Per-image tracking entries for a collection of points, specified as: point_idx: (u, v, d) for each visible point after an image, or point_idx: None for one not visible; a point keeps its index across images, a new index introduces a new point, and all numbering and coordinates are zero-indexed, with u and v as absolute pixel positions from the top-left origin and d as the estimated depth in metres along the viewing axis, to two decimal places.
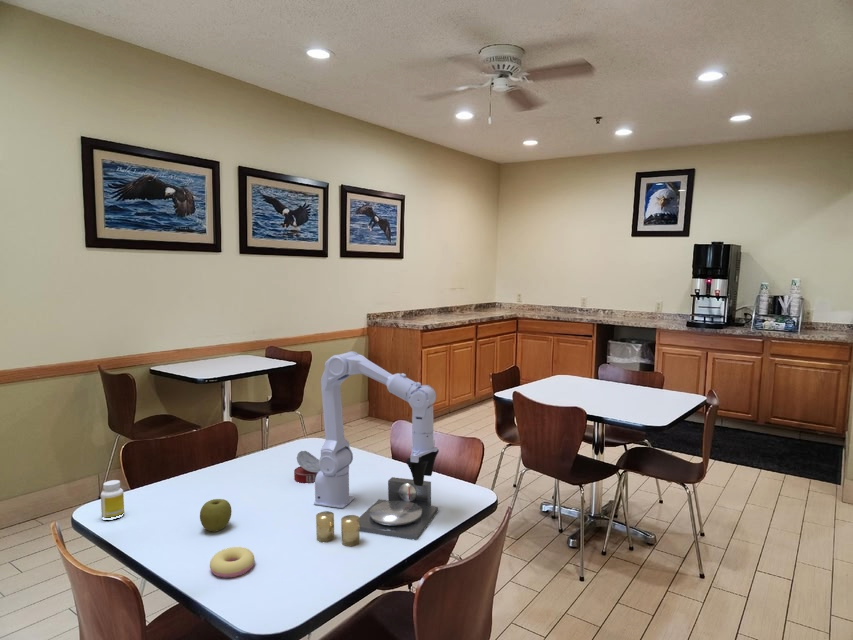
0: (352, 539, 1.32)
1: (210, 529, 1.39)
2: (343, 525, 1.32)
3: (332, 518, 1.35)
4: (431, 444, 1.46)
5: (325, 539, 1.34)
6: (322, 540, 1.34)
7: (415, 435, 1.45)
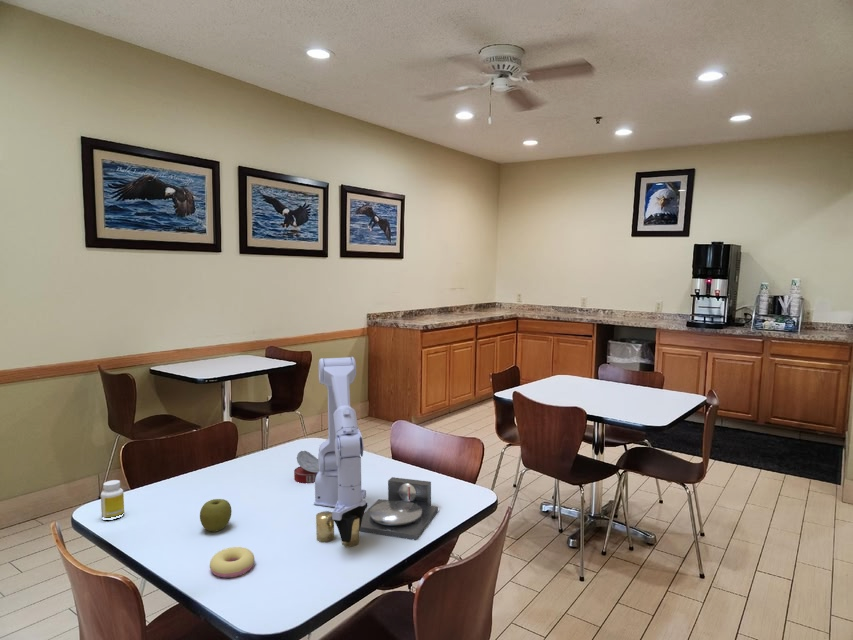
0: (352, 539, 1.32)
1: (210, 529, 1.39)
2: None
3: None
4: (358, 498, 1.32)
5: (325, 539, 1.34)
6: (322, 540, 1.34)
7: (340, 488, 1.31)
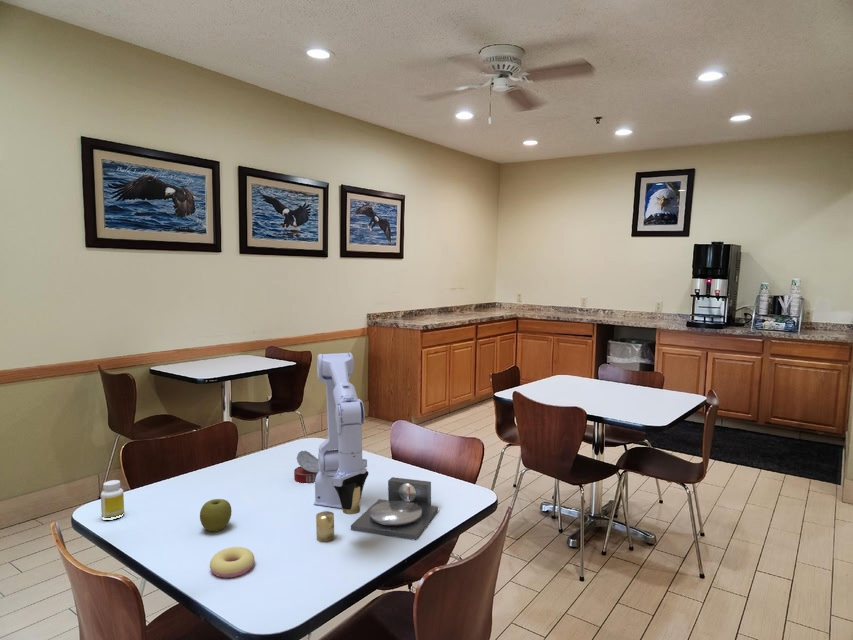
0: (353, 507, 1.32)
1: (210, 529, 1.39)
2: None
3: (332, 518, 1.35)
4: (359, 465, 1.31)
5: (325, 539, 1.34)
6: (322, 540, 1.34)
7: (341, 455, 1.31)
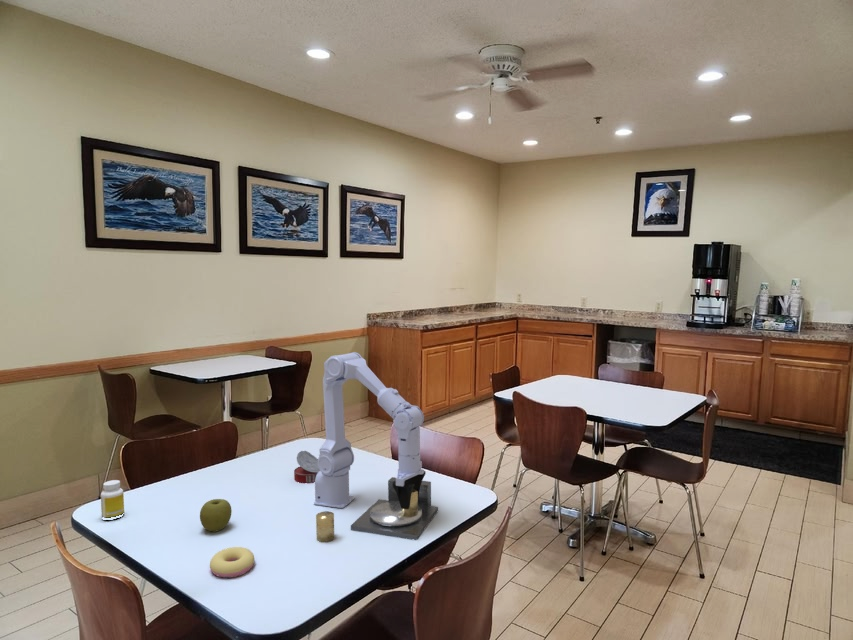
0: (412, 510, 1.43)
1: (210, 529, 1.39)
2: None
3: (332, 518, 1.35)
4: (417, 466, 1.42)
5: (325, 539, 1.34)
6: (322, 540, 1.34)
7: (401, 457, 1.42)
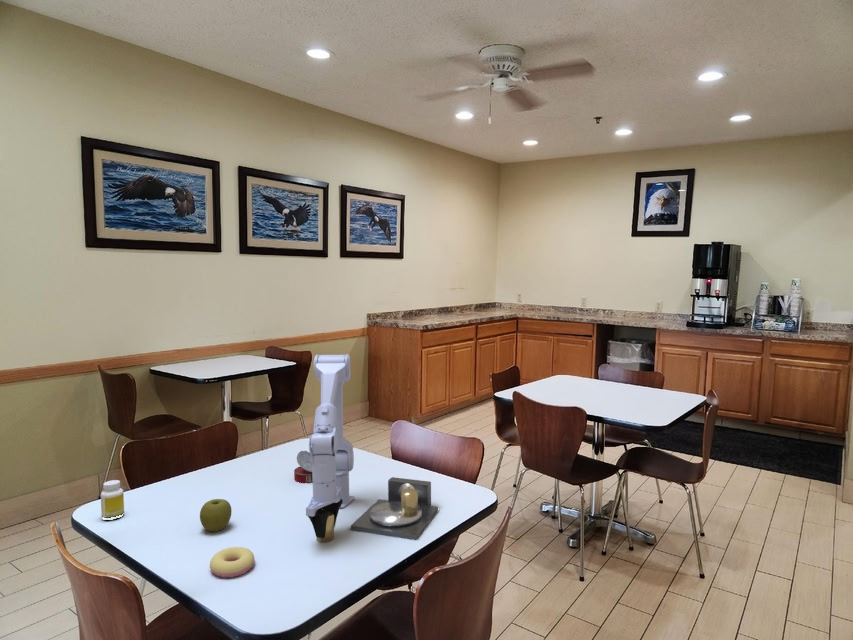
0: (412, 510, 1.43)
1: (210, 529, 1.39)
2: (404, 497, 1.43)
3: (332, 518, 1.35)
4: (332, 494, 1.34)
5: (325, 539, 1.34)
6: (322, 540, 1.34)
7: (314, 485, 1.33)
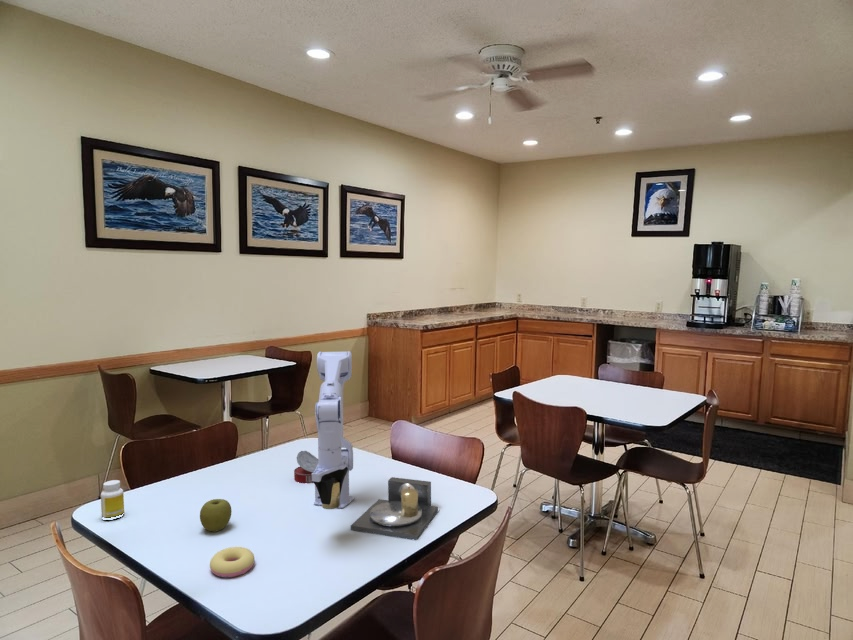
0: (412, 510, 1.43)
1: (210, 529, 1.39)
2: (404, 497, 1.43)
3: (337, 485, 1.36)
4: (338, 461, 1.35)
5: (331, 505, 1.35)
6: (328, 507, 1.35)
7: (320, 451, 1.34)
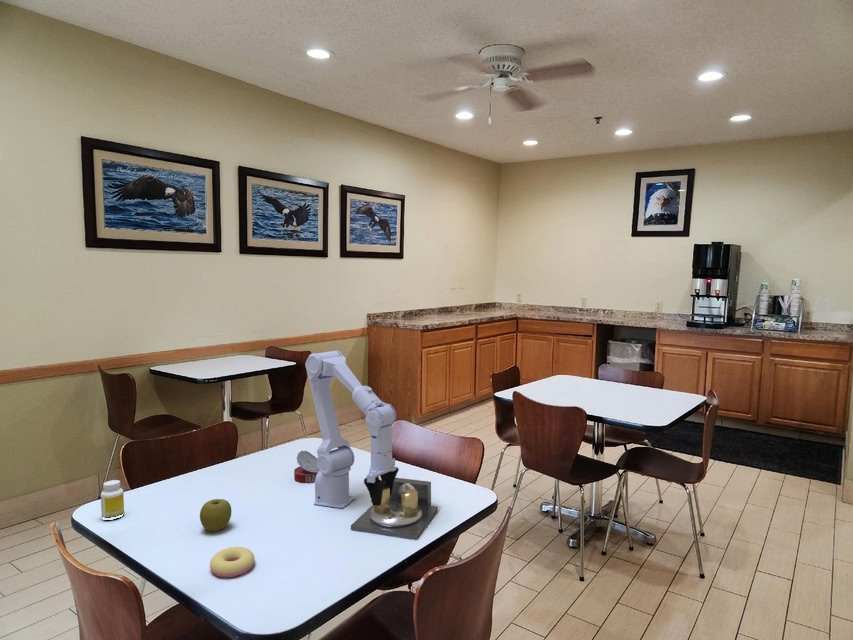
0: (412, 510, 1.43)
1: (210, 529, 1.39)
2: (404, 498, 1.43)
3: (389, 491, 1.46)
4: (389, 463, 1.45)
5: (383, 510, 1.45)
6: (380, 511, 1.45)
7: (373, 454, 1.44)
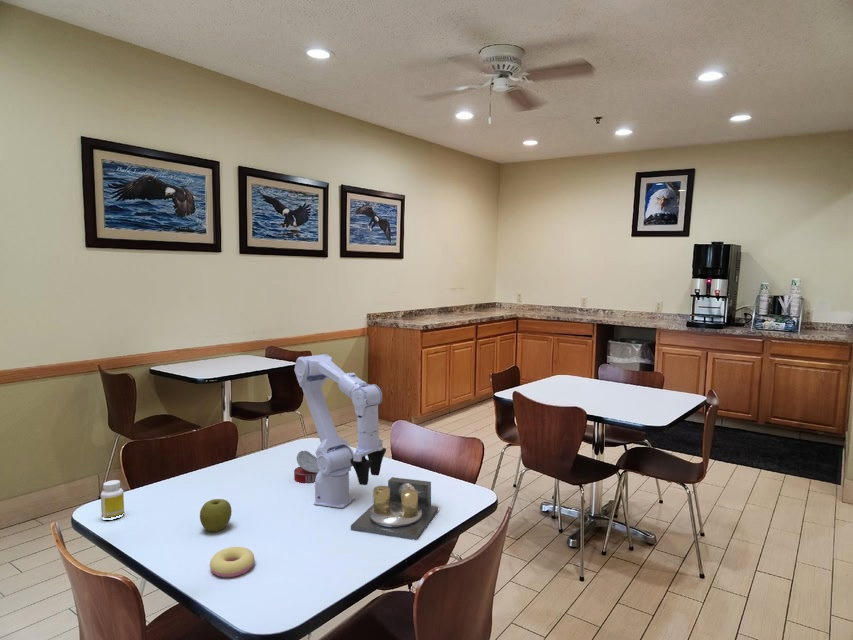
0: (412, 510, 1.43)
1: (210, 529, 1.39)
2: (404, 498, 1.43)
3: (388, 491, 1.46)
4: (376, 443, 1.46)
5: (383, 510, 1.45)
6: (380, 511, 1.45)
7: (359, 434, 1.45)
